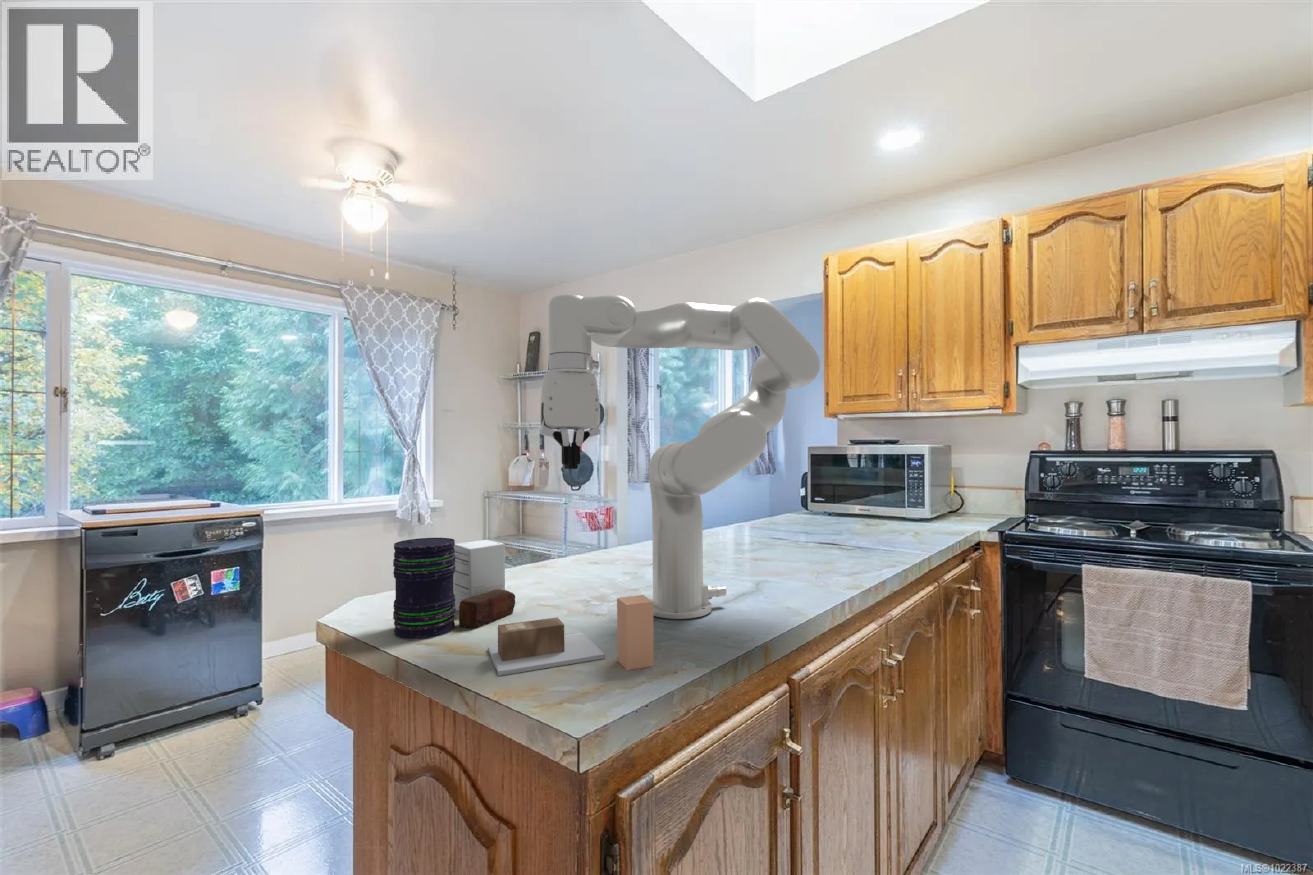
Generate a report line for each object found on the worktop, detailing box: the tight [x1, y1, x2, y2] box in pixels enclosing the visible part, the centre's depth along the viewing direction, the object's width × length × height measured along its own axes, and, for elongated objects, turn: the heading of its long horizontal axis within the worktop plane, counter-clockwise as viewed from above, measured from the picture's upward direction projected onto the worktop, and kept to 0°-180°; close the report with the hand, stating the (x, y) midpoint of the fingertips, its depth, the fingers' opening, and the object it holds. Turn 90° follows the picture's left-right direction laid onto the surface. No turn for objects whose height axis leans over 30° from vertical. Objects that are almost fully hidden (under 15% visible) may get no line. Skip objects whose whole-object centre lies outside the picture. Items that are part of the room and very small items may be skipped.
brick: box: [458, 589, 516, 629], centre depth 103 cm, size 11×4×5 cm, turn 156°
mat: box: [487, 632, 605, 677], centre depth 85 cm, size 15×11×1 cm
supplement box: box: [453, 539, 506, 612], centre depth 110 cm, size 7×7×13 cm
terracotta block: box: [616, 594, 655, 671], centre depth 82 cm, size 4×4×9 cm
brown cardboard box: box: [497, 616, 565, 661], centre depth 85 cm, size 4×4×9 cm
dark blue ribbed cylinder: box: [392, 537, 457, 641], centre depth 97 cm, size 10×10×15 cm
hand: (570, 468), depth 102 cm, fingers closed
